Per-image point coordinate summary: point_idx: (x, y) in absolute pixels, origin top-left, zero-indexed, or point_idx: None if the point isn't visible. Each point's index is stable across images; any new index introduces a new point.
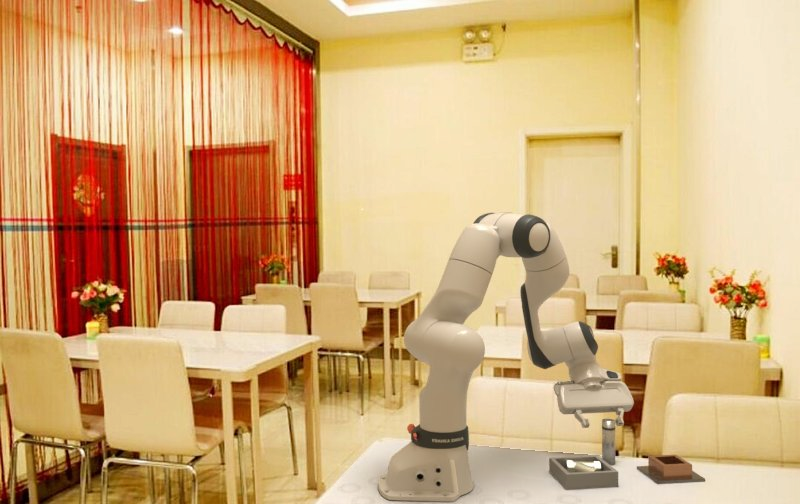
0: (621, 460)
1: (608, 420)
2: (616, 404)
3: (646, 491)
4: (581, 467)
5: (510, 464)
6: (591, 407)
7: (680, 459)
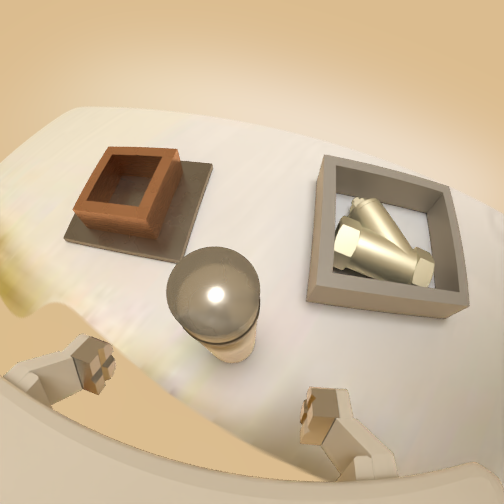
0: (172, 345)
1: (213, 288)
2: (14, 393)
3: (267, 148)
4: (399, 229)
5: (500, 386)
6: (252, 477)
7: (97, 176)
